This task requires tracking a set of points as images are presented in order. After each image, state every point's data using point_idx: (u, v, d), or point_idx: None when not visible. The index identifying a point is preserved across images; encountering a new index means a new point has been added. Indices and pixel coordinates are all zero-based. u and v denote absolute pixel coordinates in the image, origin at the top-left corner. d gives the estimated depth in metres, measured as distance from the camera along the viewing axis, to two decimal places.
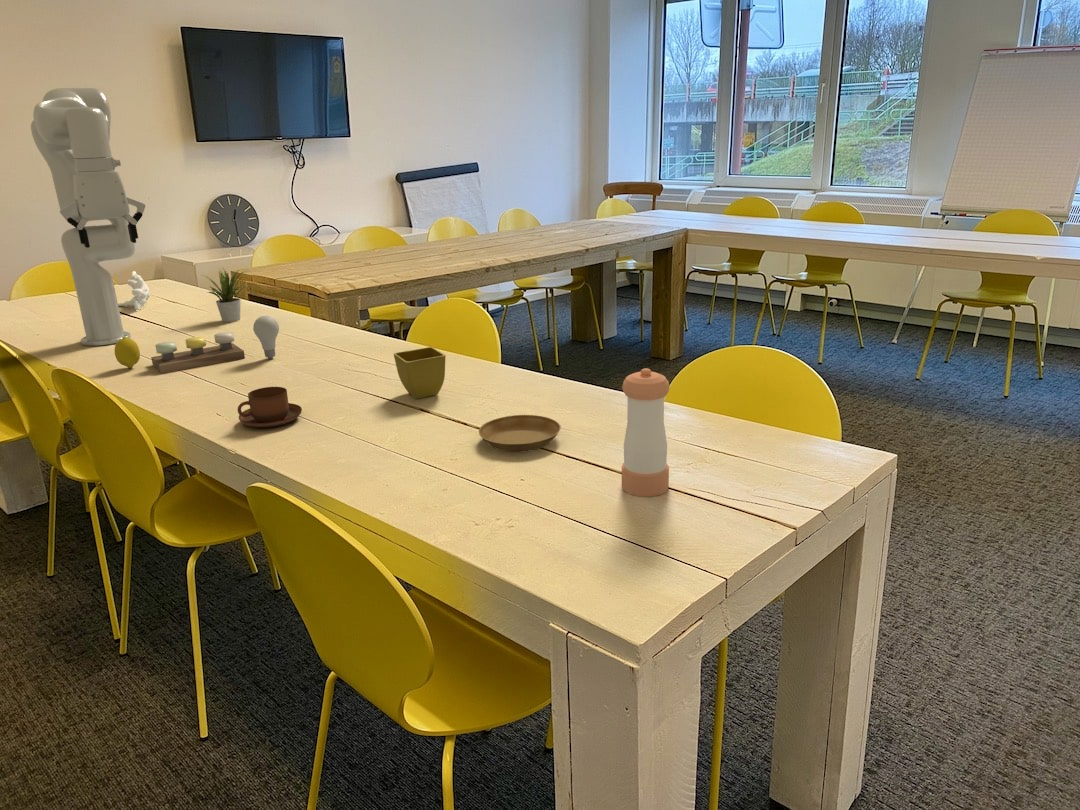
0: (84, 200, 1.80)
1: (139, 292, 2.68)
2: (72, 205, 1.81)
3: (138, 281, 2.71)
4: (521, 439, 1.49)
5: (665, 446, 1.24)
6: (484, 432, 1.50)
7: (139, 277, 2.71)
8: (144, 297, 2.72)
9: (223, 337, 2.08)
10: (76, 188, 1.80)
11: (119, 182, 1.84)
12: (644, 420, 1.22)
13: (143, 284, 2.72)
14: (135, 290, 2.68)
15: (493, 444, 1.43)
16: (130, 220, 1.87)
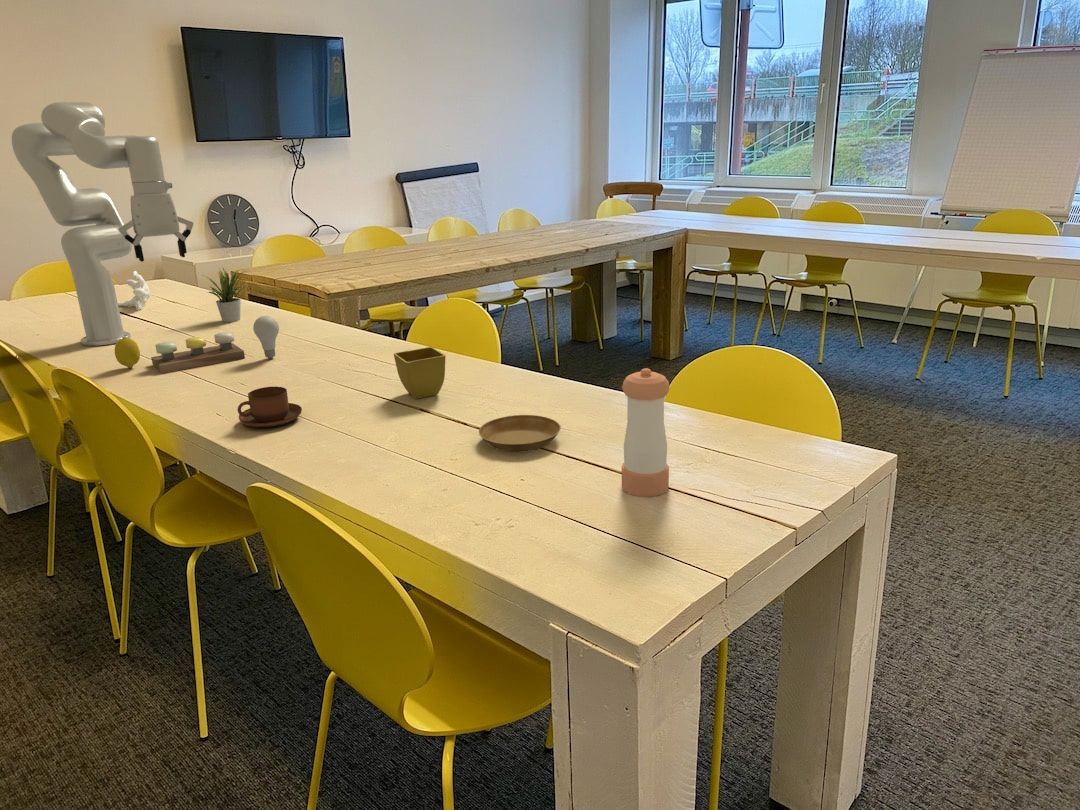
0: (140, 219, 2.01)
1: (141, 292, 2.68)
2: (129, 223, 2.01)
3: (139, 281, 2.72)
4: (521, 439, 1.49)
5: (665, 446, 1.24)
6: (484, 432, 1.50)
7: (140, 277, 2.72)
8: (145, 297, 2.73)
9: (223, 337, 2.08)
10: (133, 208, 2.00)
11: (171, 203, 2.04)
12: (644, 420, 1.22)
13: (144, 284, 2.72)
14: (137, 290, 2.68)
15: (493, 444, 1.43)
16: (180, 237, 2.08)
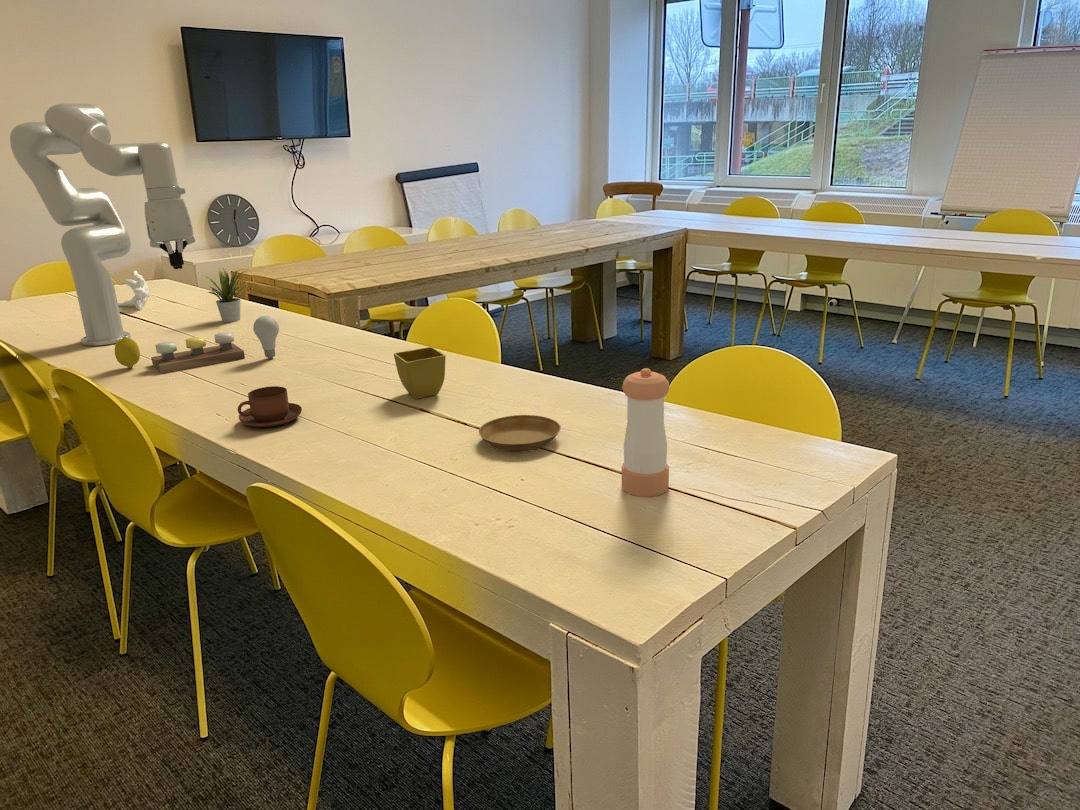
0: (155, 225, 2.03)
1: (142, 292, 2.69)
2: None
3: (139, 280, 2.72)
4: (521, 439, 1.49)
5: (665, 446, 1.24)
6: (484, 432, 1.50)
7: (140, 276, 2.72)
8: (145, 296, 2.73)
9: (223, 337, 2.08)
10: (148, 214, 2.03)
11: (184, 208, 2.06)
12: (644, 420, 1.22)
13: (144, 283, 2.73)
14: (137, 289, 2.69)
15: (493, 444, 1.43)
16: (179, 246, 2.08)
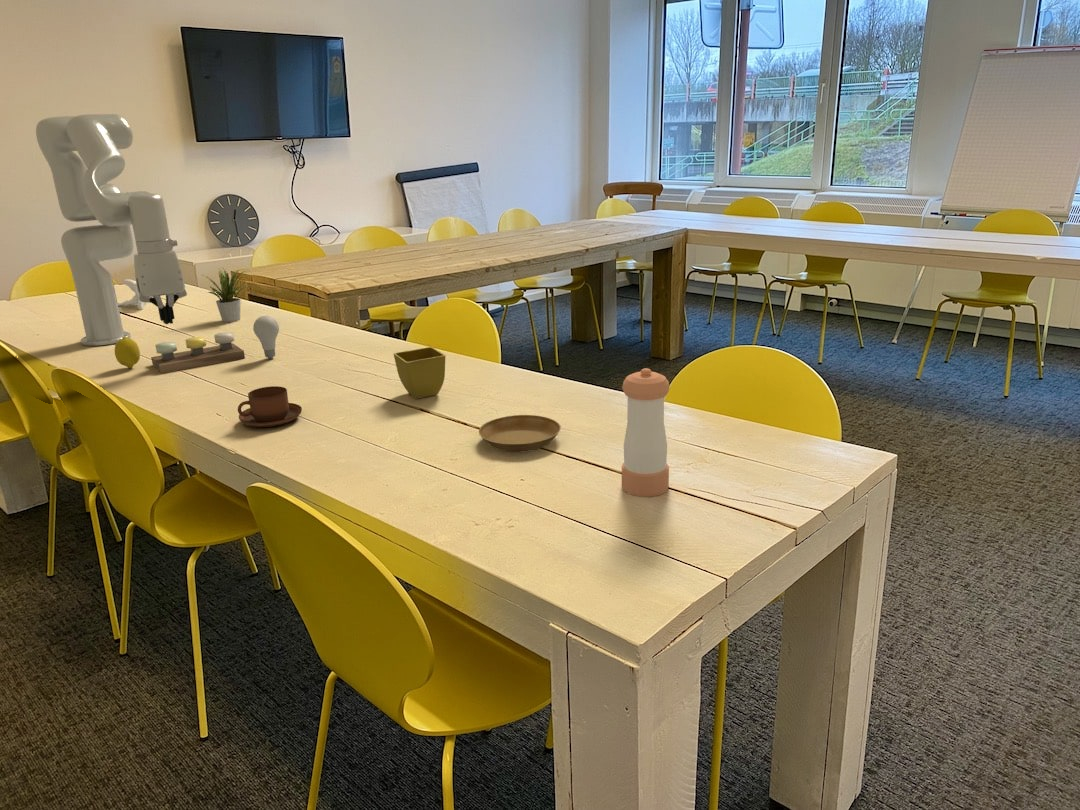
0: (145, 279, 1.94)
1: None
2: None
3: None
4: (521, 439, 1.49)
5: (665, 446, 1.24)
6: (484, 432, 1.50)
7: None
8: None
9: (223, 337, 2.08)
10: (138, 268, 1.93)
11: (176, 261, 1.97)
12: (644, 420, 1.22)
13: None
14: None
15: (493, 444, 1.43)
16: (170, 301, 1.99)
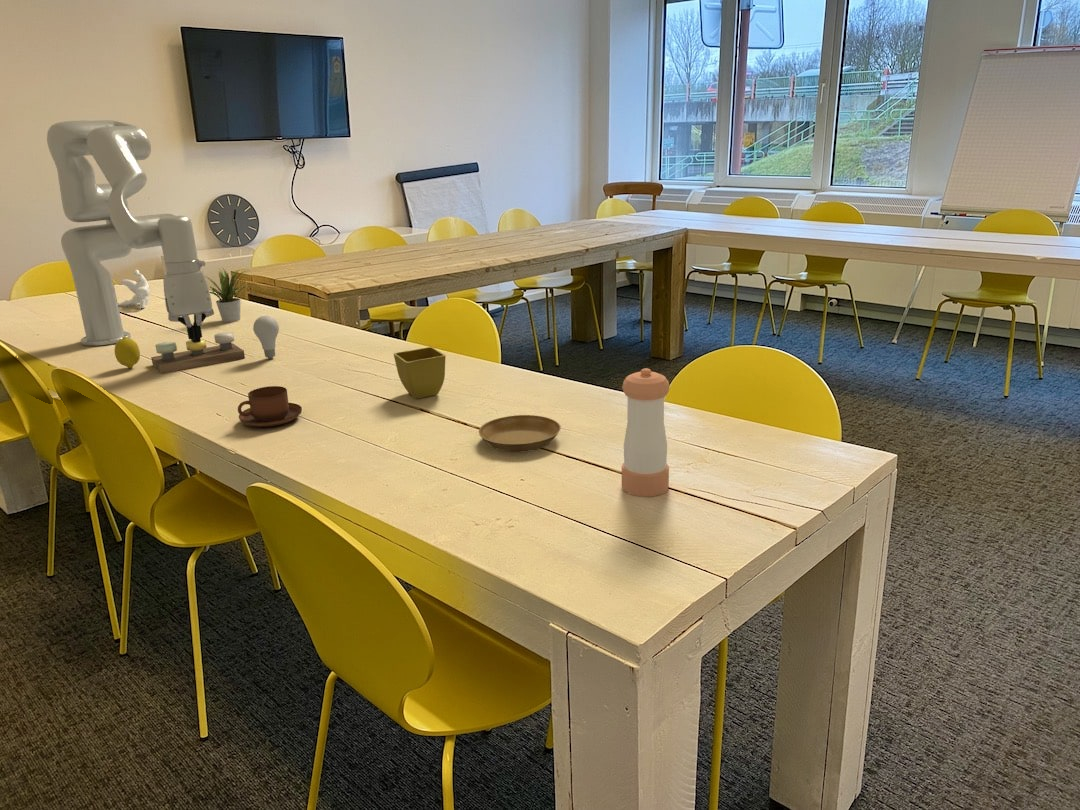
0: (174, 299, 1.99)
1: (146, 290, 2.71)
2: None
3: (141, 280, 2.74)
4: (521, 439, 1.49)
5: (665, 446, 1.24)
6: (484, 432, 1.50)
7: (142, 276, 2.74)
8: (147, 295, 2.75)
9: (223, 337, 2.08)
10: (167, 289, 1.98)
11: (204, 281, 2.02)
12: (644, 420, 1.22)
13: (146, 282, 2.75)
14: (141, 288, 2.70)
15: (493, 444, 1.43)
16: (198, 320, 2.04)
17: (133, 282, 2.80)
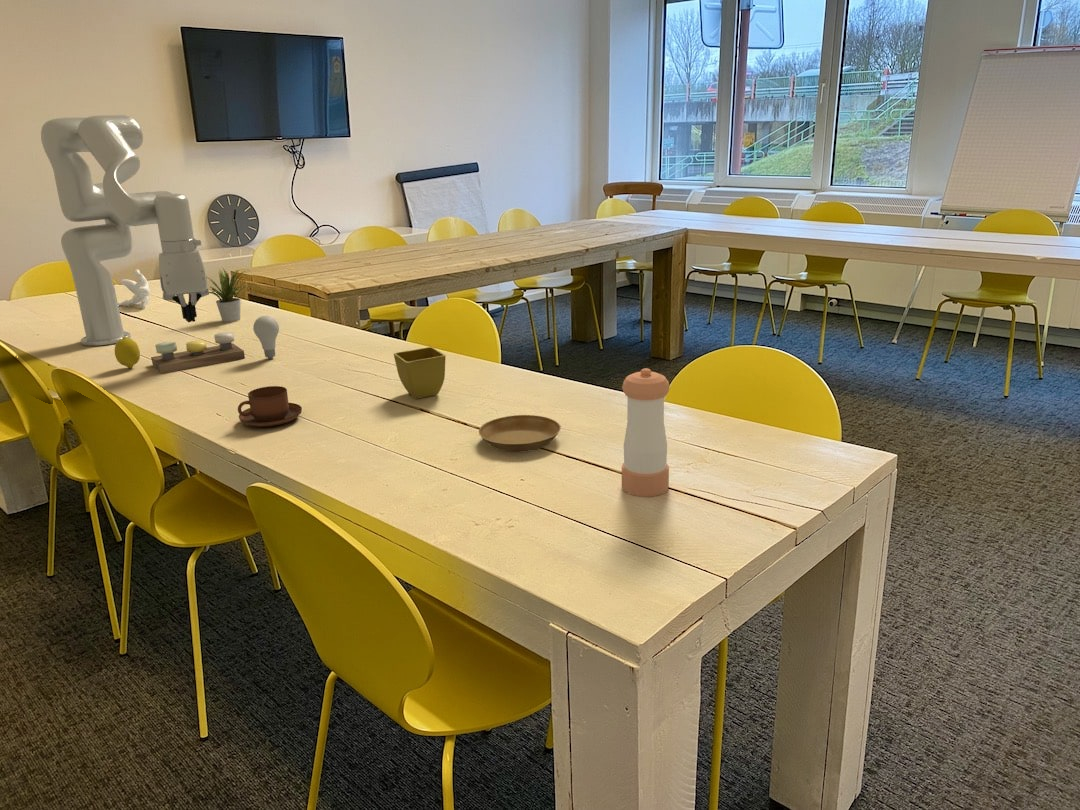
0: (169, 278, 1.97)
1: (147, 290, 2.71)
2: None
3: (141, 279, 2.74)
4: (521, 439, 1.49)
5: (665, 446, 1.24)
6: (484, 432, 1.50)
7: (142, 275, 2.74)
8: (148, 295, 2.76)
9: (223, 337, 2.08)
10: (162, 267, 1.97)
11: (200, 261, 2.01)
12: (644, 420, 1.22)
13: (146, 282, 2.75)
14: (142, 288, 2.71)
15: (493, 444, 1.43)
16: (192, 299, 2.03)
17: (132, 282, 2.80)
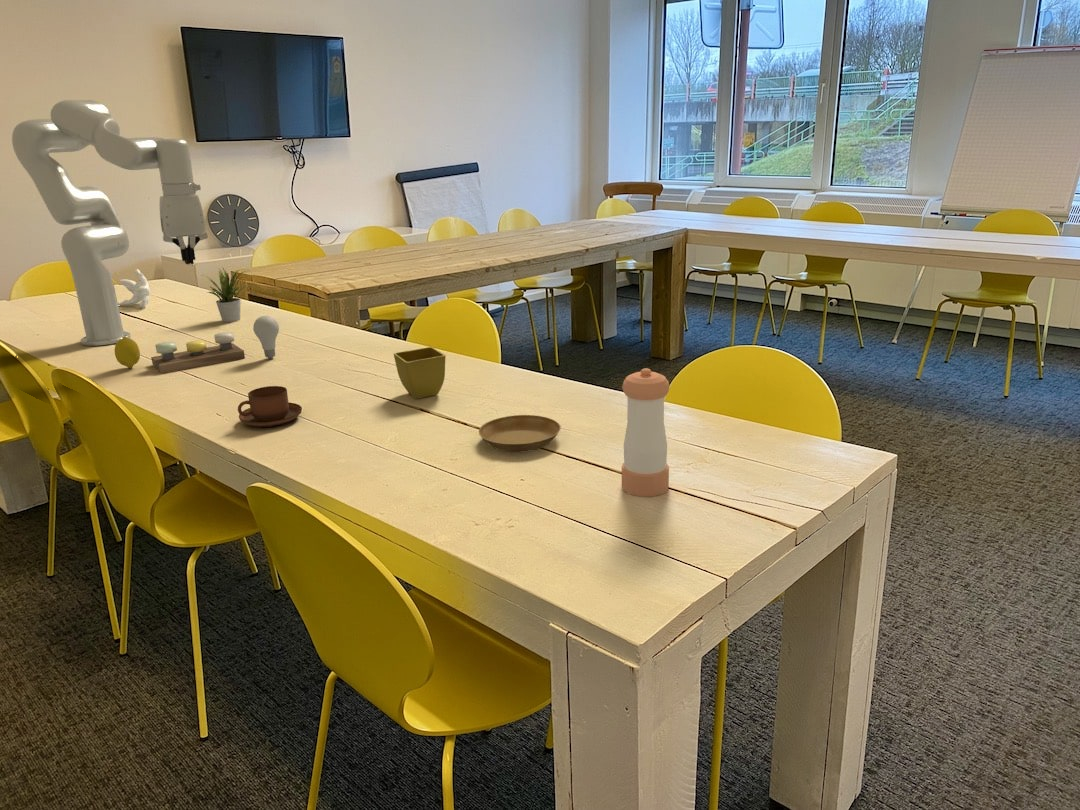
0: (168, 220, 2.06)
1: (147, 290, 2.72)
2: None
3: (141, 279, 2.74)
4: (521, 439, 1.49)
5: (665, 446, 1.24)
6: (484, 432, 1.50)
7: None
8: (148, 295, 2.76)
9: (223, 337, 2.08)
10: (162, 209, 2.05)
11: (199, 204, 2.08)
12: (644, 420, 1.22)
13: (146, 282, 2.76)
14: (143, 287, 2.71)
15: (493, 444, 1.43)
16: (191, 242, 2.11)
17: (132, 282, 2.81)
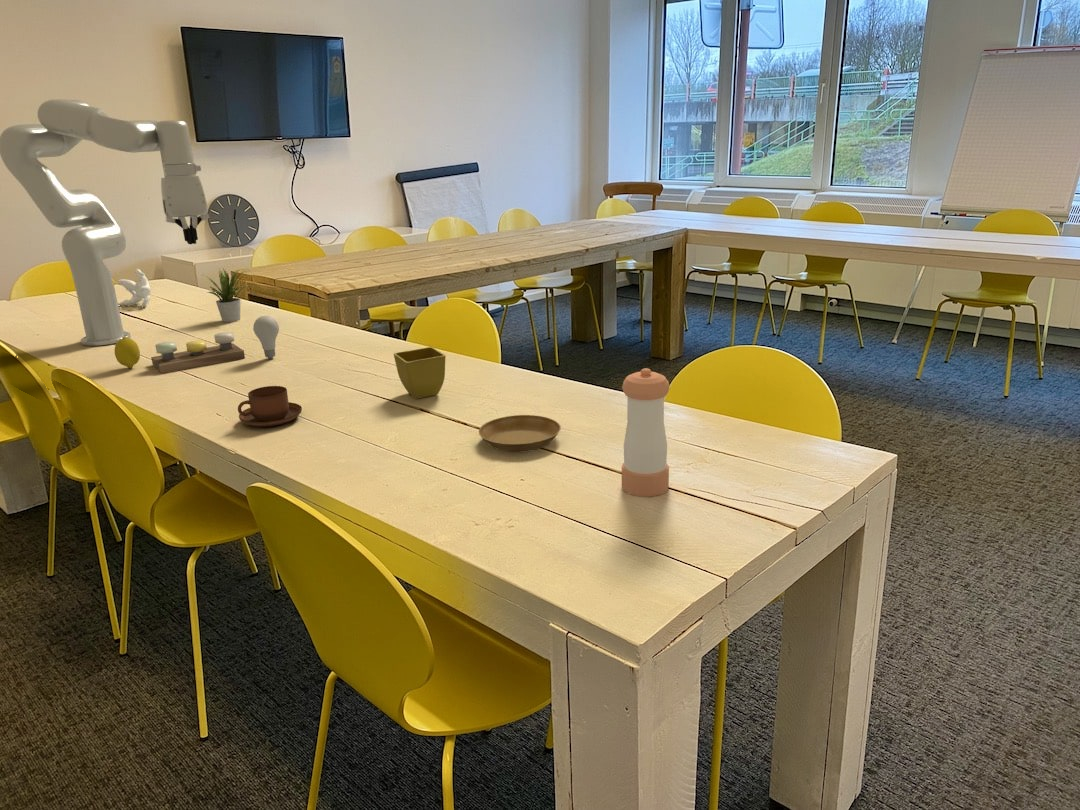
0: (171, 200, 2.10)
1: (149, 289, 2.73)
2: None
3: (142, 279, 2.75)
4: (521, 439, 1.49)
5: (665, 446, 1.24)
6: (484, 432, 1.50)
7: None
8: (149, 294, 2.77)
9: (223, 337, 2.08)
10: (164, 190, 2.09)
11: (200, 185, 2.13)
12: (644, 420, 1.22)
13: (147, 281, 2.77)
14: (144, 287, 2.72)
15: (493, 444, 1.43)
16: (193, 222, 2.15)
17: (131, 282, 2.81)
